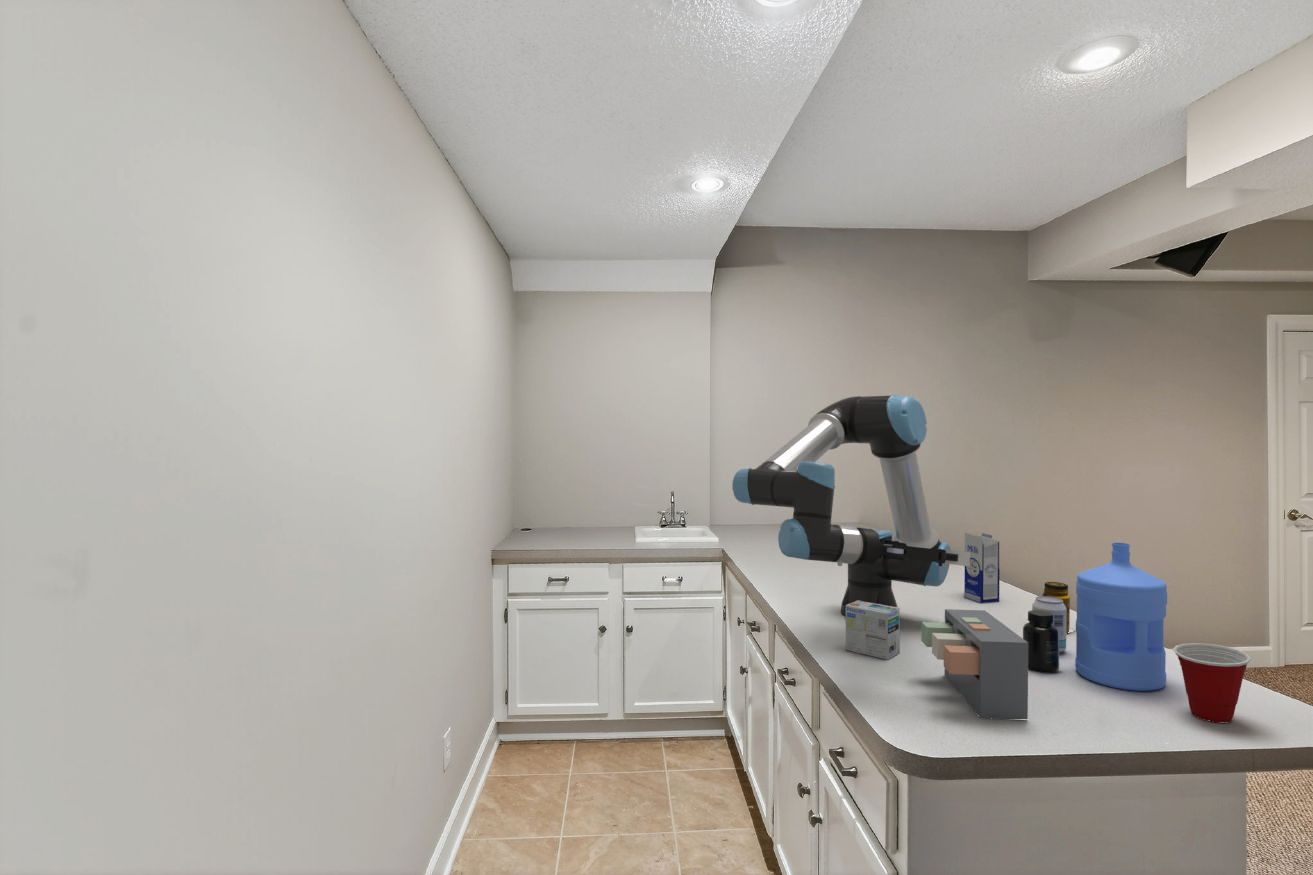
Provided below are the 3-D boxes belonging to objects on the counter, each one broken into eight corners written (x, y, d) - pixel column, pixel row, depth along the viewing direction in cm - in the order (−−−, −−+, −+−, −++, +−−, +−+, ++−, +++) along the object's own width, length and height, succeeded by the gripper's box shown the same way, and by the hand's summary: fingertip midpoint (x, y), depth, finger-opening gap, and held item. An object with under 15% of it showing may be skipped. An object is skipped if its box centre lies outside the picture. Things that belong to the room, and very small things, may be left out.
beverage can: (1064, 647, 160) (1064, 597, 160) (1067, 657, 154) (1068, 604, 154) (1030, 643, 163) (1031, 594, 163) (1033, 652, 157) (1033, 601, 156)
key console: (980, 718, 122) (981, 639, 122) (944, 675, 143) (944, 607, 143) (1027, 720, 121) (1028, 641, 121) (984, 676, 142) (984, 608, 142)
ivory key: (937, 659, 131) (937, 638, 131) (931, 652, 135) (932, 632, 135) (975, 660, 130) (975, 640, 130) (968, 654, 134) (968, 634, 134)
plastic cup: (1157, 705, 127) (1158, 642, 127) (1210, 703, 128) (1211, 640, 128) (1209, 731, 117) (1210, 662, 116) (1266, 729, 118) (1268, 660, 117)
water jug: (1059, 664, 149) (1061, 537, 149) (1132, 664, 149) (1134, 537, 148) (1104, 692, 134) (1106, 550, 133) (1185, 693, 133) (1187, 551, 133)
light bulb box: (900, 653, 157) (901, 606, 157) (888, 660, 152) (888, 613, 152) (857, 643, 164) (857, 598, 164) (844, 650, 159) (844, 604, 159)
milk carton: (963, 597, 206) (964, 532, 206) (981, 595, 208) (982, 531, 208) (981, 603, 199) (982, 535, 199) (999, 601, 201) (1000, 534, 201)
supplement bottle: (1055, 664, 149) (1055, 610, 149) (1062, 675, 143) (1063, 618, 143) (1020, 660, 152) (1020, 607, 151) (1025, 671, 145) (1026, 615, 145)
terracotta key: (950, 673, 123) (950, 652, 123) (943, 666, 127) (943, 645, 127) (990, 675, 123) (990, 653, 123) (982, 667, 126) (982, 646, 126)
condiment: (1076, 631, 173) (1077, 584, 173) (1059, 637, 168) (1060, 589, 168) (1047, 624, 179) (1047, 579, 179) (1030, 629, 174) (1030, 583, 174)
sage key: (926, 646, 138) (926, 627, 138) (921, 640, 142) (921, 621, 142) (962, 647, 138) (962, 628, 138) (956, 641, 141) (956, 622, 141)
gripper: (824, 559, 149) (911, 568, 153) (886, 570, 125) (987, 581, 129) (827, 524, 150) (913, 535, 154) (889, 530, 126) (989, 542, 130)
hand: (947, 556), depth 142 cm, fingers open, 13 cm apart
